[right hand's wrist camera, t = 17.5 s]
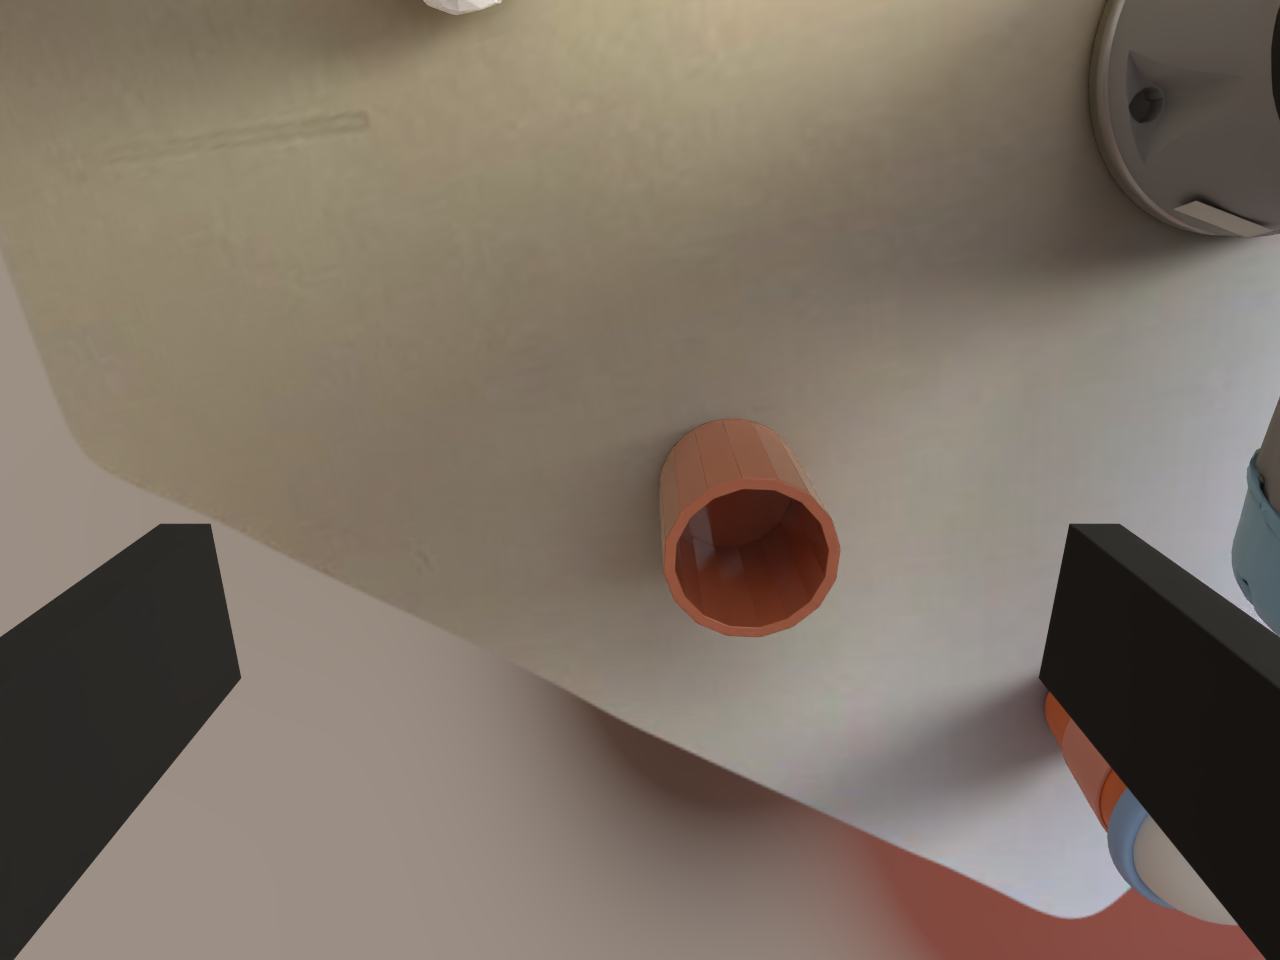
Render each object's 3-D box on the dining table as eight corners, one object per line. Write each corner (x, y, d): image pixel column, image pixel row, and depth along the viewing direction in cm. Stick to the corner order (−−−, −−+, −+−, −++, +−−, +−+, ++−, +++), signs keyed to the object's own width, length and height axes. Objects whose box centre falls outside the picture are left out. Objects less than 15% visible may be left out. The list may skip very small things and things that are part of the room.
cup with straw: (996, 753, 48) (1189, 1059, 31) (1048, 621, 45) (1292, 882, 28) (1141, 773, 49) (1407, 1086, 32) (1202, 644, 46) (1532, 915, 29)
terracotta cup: (697, 395, 41) (712, 450, 32) (825, 453, 42) (871, 521, 34) (636, 517, 43) (635, 598, 35) (758, 570, 44) (786, 660, 36)
